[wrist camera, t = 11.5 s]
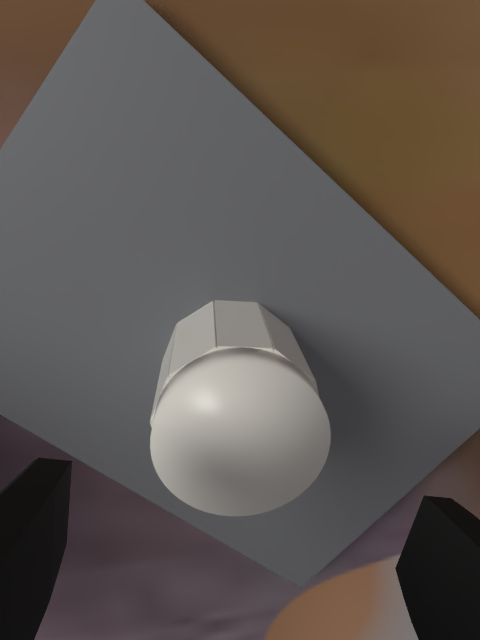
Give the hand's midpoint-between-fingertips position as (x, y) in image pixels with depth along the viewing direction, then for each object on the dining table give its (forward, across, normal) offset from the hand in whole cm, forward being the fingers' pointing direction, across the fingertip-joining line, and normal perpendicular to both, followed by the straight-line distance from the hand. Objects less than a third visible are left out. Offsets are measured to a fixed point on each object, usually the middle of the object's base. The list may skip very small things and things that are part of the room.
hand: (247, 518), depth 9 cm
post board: (+9, 0, 0) cm, 9 cm away
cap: (+8, 0, 0) cm, 8 cm away
